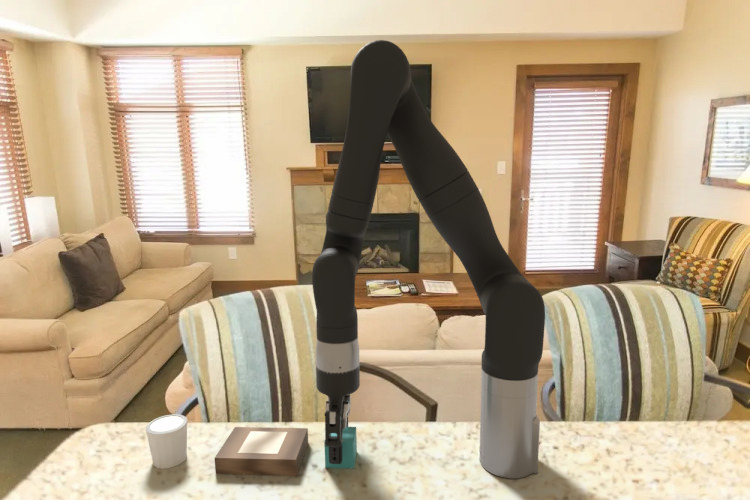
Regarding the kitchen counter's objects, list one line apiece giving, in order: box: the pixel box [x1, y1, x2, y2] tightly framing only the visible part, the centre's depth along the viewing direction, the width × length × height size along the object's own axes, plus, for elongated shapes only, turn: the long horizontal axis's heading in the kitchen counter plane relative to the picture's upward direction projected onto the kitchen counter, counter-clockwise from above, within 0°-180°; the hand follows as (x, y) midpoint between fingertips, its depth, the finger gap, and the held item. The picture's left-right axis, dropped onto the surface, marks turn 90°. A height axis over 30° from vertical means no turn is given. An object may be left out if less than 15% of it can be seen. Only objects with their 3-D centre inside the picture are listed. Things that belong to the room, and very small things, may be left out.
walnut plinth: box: [214, 426, 309, 477], centre depth 86 cm, size 14×10×3 cm
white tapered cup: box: [145, 413, 188, 469], centre depth 86 cm, size 7×7×7 cm
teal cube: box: [323, 426, 358, 469], centre depth 85 cm, size 5×5×5 cm
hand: (339, 448), depth 85 cm, fingers open, 8 cm apart
